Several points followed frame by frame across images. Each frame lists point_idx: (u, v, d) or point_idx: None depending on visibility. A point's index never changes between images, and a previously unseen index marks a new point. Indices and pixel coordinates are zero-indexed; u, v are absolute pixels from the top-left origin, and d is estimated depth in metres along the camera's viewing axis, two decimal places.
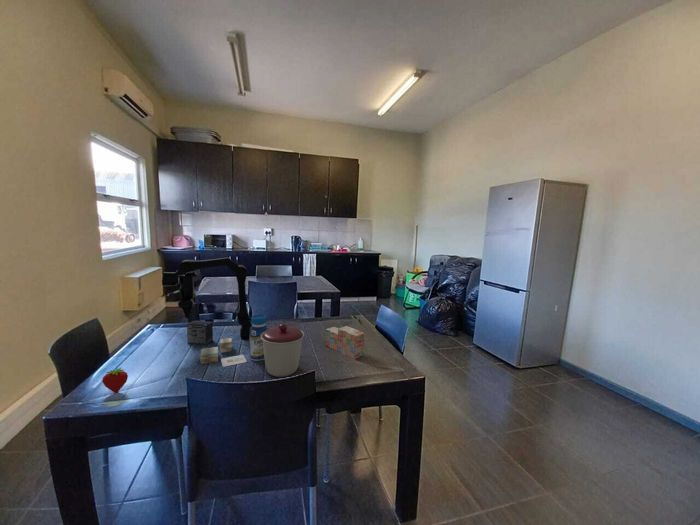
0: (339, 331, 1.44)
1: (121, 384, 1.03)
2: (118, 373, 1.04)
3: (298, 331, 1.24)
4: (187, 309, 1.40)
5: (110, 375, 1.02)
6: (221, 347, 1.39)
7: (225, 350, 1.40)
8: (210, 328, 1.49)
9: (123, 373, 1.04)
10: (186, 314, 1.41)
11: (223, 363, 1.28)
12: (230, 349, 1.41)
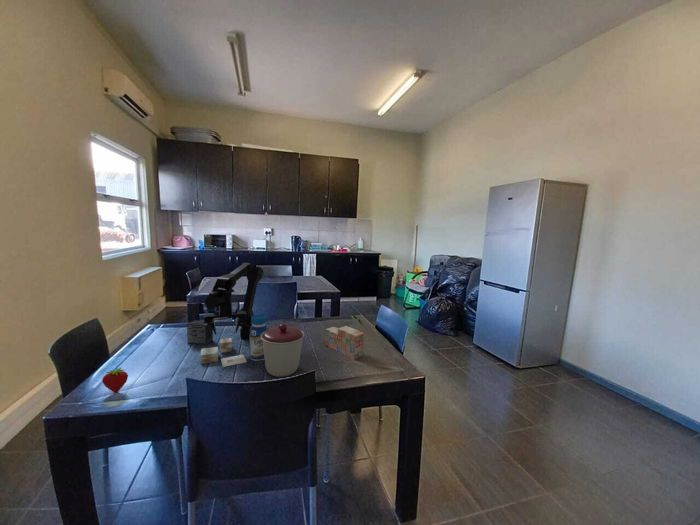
0: (338, 330, 1.44)
1: (121, 384, 1.03)
2: (118, 373, 1.04)
3: (298, 331, 1.24)
4: None
5: (110, 375, 1.02)
6: (221, 347, 1.39)
7: (225, 350, 1.40)
8: (210, 328, 1.49)
9: (123, 373, 1.04)
10: None
11: (223, 363, 1.28)
12: (230, 349, 1.41)
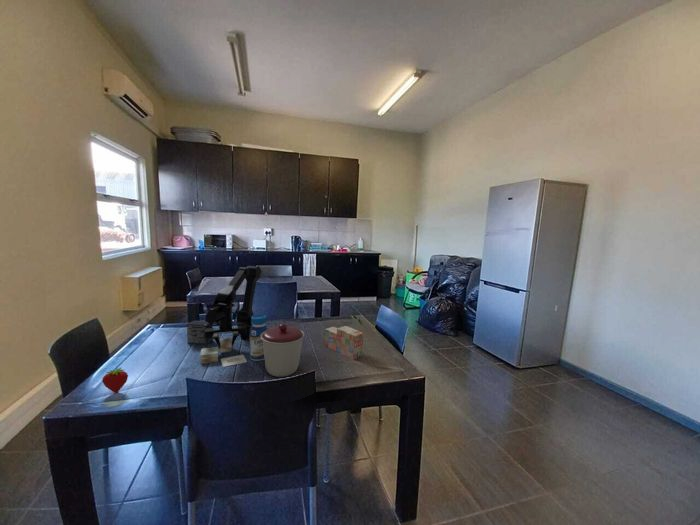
0: (338, 330, 1.44)
1: (121, 384, 1.03)
2: (118, 373, 1.04)
3: (298, 331, 1.24)
4: None
5: (110, 375, 1.02)
6: (221, 347, 1.39)
7: (225, 350, 1.40)
8: None
9: (123, 373, 1.04)
10: (218, 344, 1.41)
11: (223, 363, 1.28)
12: (230, 349, 1.41)
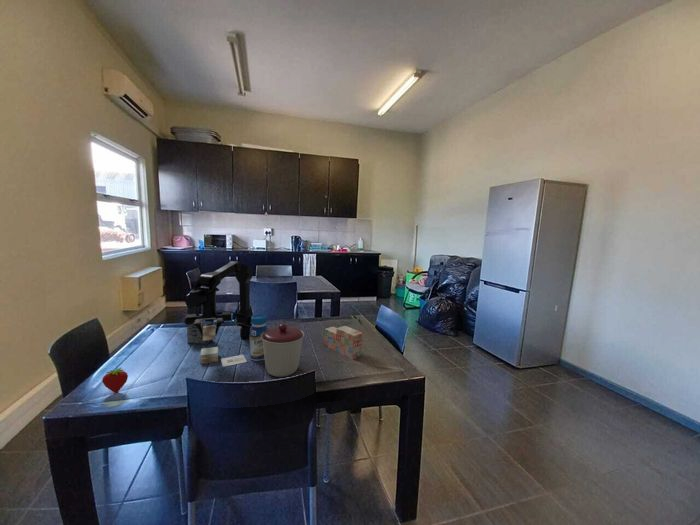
0: (337, 330, 1.45)
1: (121, 384, 1.03)
2: (118, 373, 1.04)
3: (298, 331, 1.24)
4: None
5: (110, 375, 1.02)
6: (204, 334, 1.27)
7: (208, 338, 1.28)
8: None
9: (123, 373, 1.04)
10: None
11: (223, 363, 1.28)
12: (214, 337, 1.29)
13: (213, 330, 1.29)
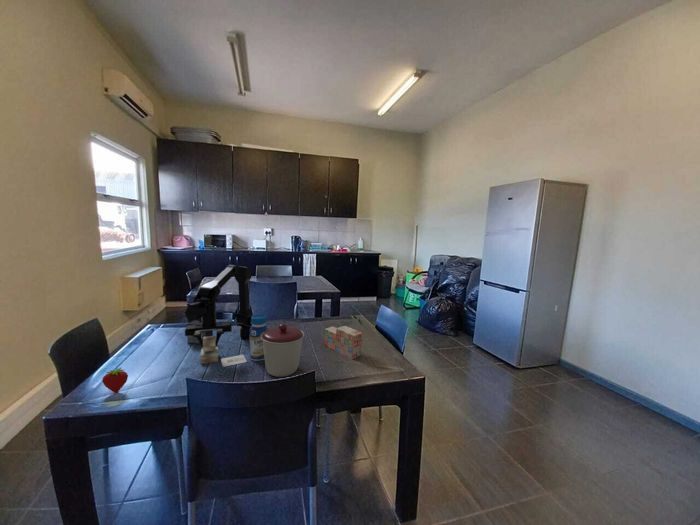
0: (337, 330, 1.45)
1: (121, 384, 1.03)
2: (118, 373, 1.04)
3: (298, 331, 1.24)
4: None
5: (110, 375, 1.02)
6: (204, 346, 1.28)
7: (208, 349, 1.29)
8: None
9: (123, 373, 1.04)
10: None
11: (223, 363, 1.28)
12: (214, 348, 1.30)
13: (213, 341, 1.29)
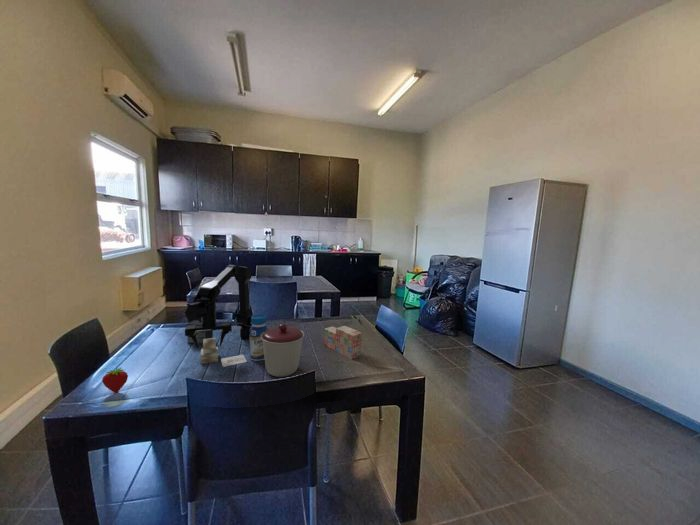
0: (336, 330, 1.45)
1: (121, 384, 1.03)
2: (118, 373, 1.03)
3: (298, 331, 1.24)
4: None
5: (110, 375, 1.02)
6: (204, 348, 1.28)
7: (208, 351, 1.29)
8: None
9: (123, 373, 1.04)
10: None
11: (223, 363, 1.28)
12: (214, 350, 1.30)
13: (213, 343, 1.30)
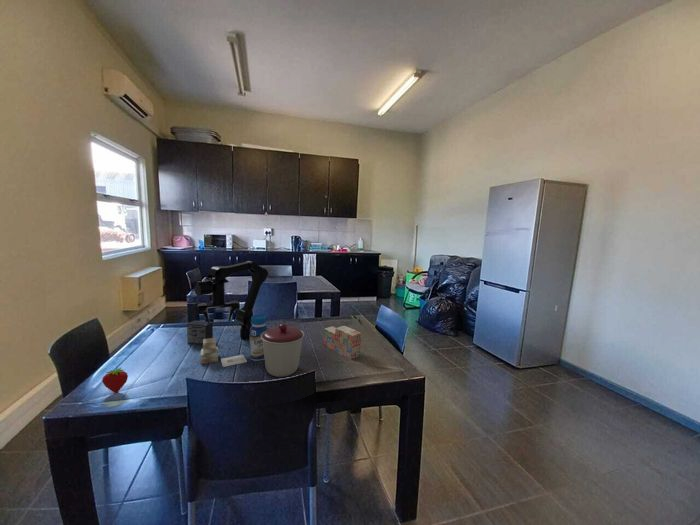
0: (336, 330, 1.45)
1: (121, 384, 1.03)
2: (118, 373, 1.03)
3: (298, 331, 1.24)
4: None
5: (110, 375, 1.02)
6: (204, 348, 1.28)
7: (208, 351, 1.29)
8: (210, 328, 1.49)
9: (123, 373, 1.04)
10: None
11: (223, 363, 1.28)
12: (214, 350, 1.30)
13: (213, 343, 1.30)
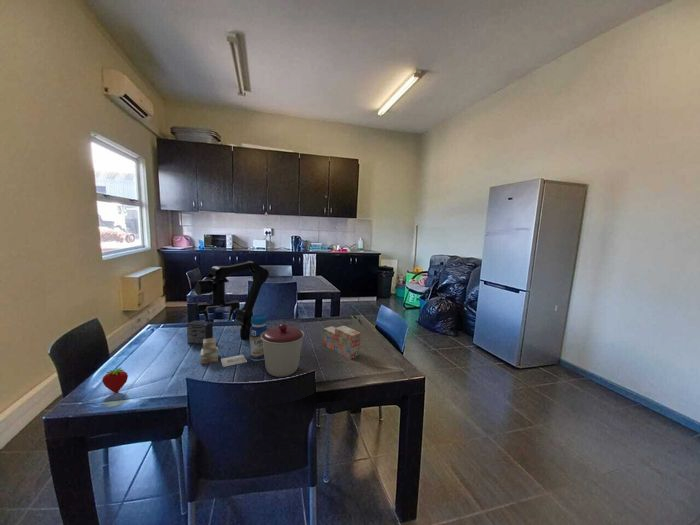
0: (335, 330, 1.45)
1: (121, 384, 1.03)
2: (118, 373, 1.04)
3: (298, 331, 1.24)
4: None
5: (110, 375, 1.02)
6: (204, 348, 1.28)
7: (208, 351, 1.29)
8: (210, 328, 1.49)
9: (123, 373, 1.04)
10: (206, 318, 1.42)
11: (223, 363, 1.28)
12: (214, 350, 1.30)
13: (213, 343, 1.30)
